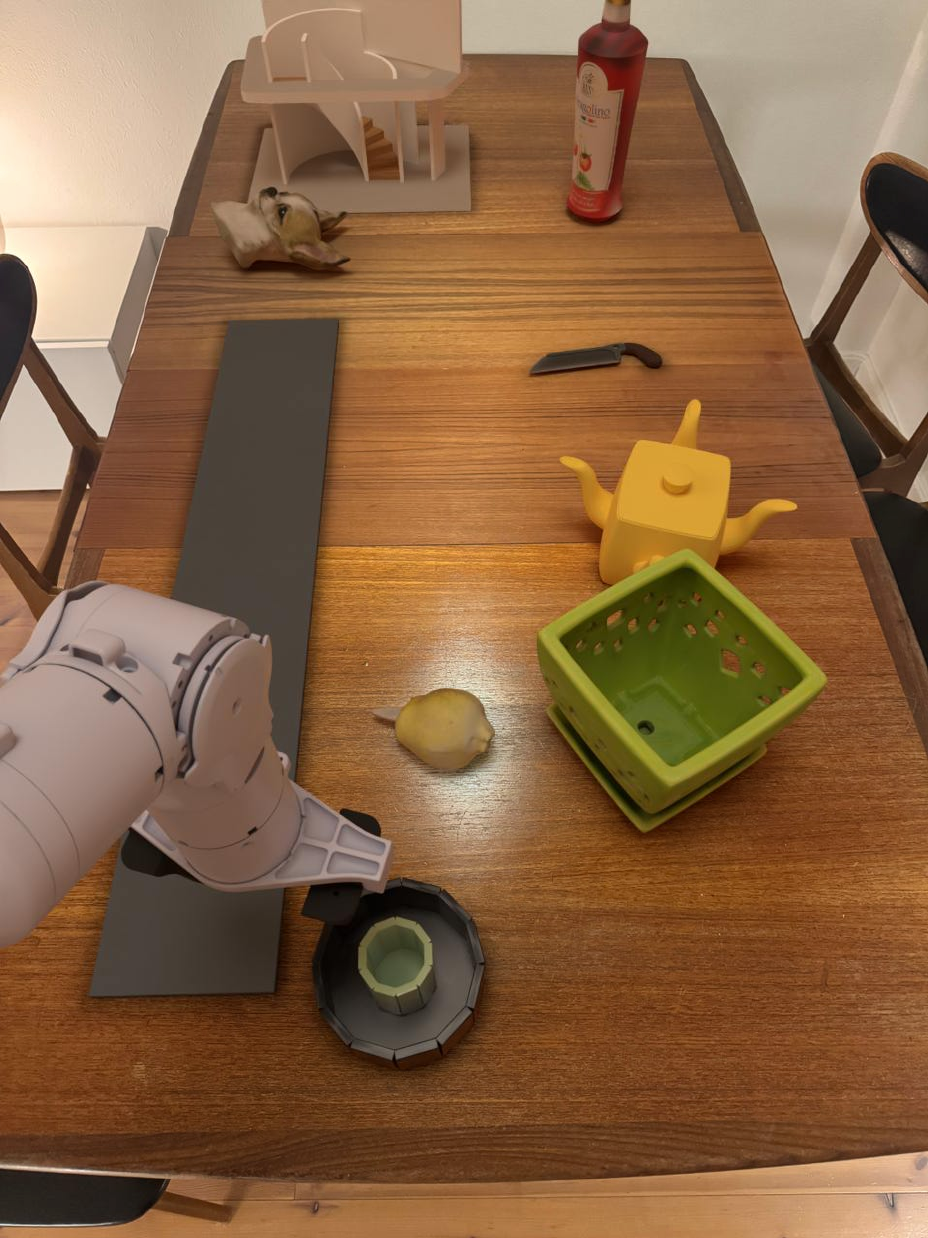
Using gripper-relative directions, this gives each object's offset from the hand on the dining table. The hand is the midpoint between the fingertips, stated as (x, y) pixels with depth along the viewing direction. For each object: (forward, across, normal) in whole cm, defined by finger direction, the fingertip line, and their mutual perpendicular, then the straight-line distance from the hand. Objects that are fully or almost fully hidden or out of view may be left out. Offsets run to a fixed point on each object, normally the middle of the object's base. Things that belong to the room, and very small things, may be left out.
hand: (277, 884), depth 49 cm
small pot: (+11, -7, +1) cm, 13 cm away
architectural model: (+12, +27, -94) cm, 98 cm away
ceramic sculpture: (+12, +30, -72) cm, 79 cm away
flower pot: (+12, -20, -20) cm, 31 cm away
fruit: (+12, -4, -16) cm, 20 cm away
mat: (+12, +16, -28) cm, 34 cm away
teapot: (+12, -18, -39) cm, 45 cm away
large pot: (+12, -7, +1) cm, 13 cm away
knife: (+12, -8, -62) cm, 64 cm away
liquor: (+12, -4, -90) cm, 91 cm away
